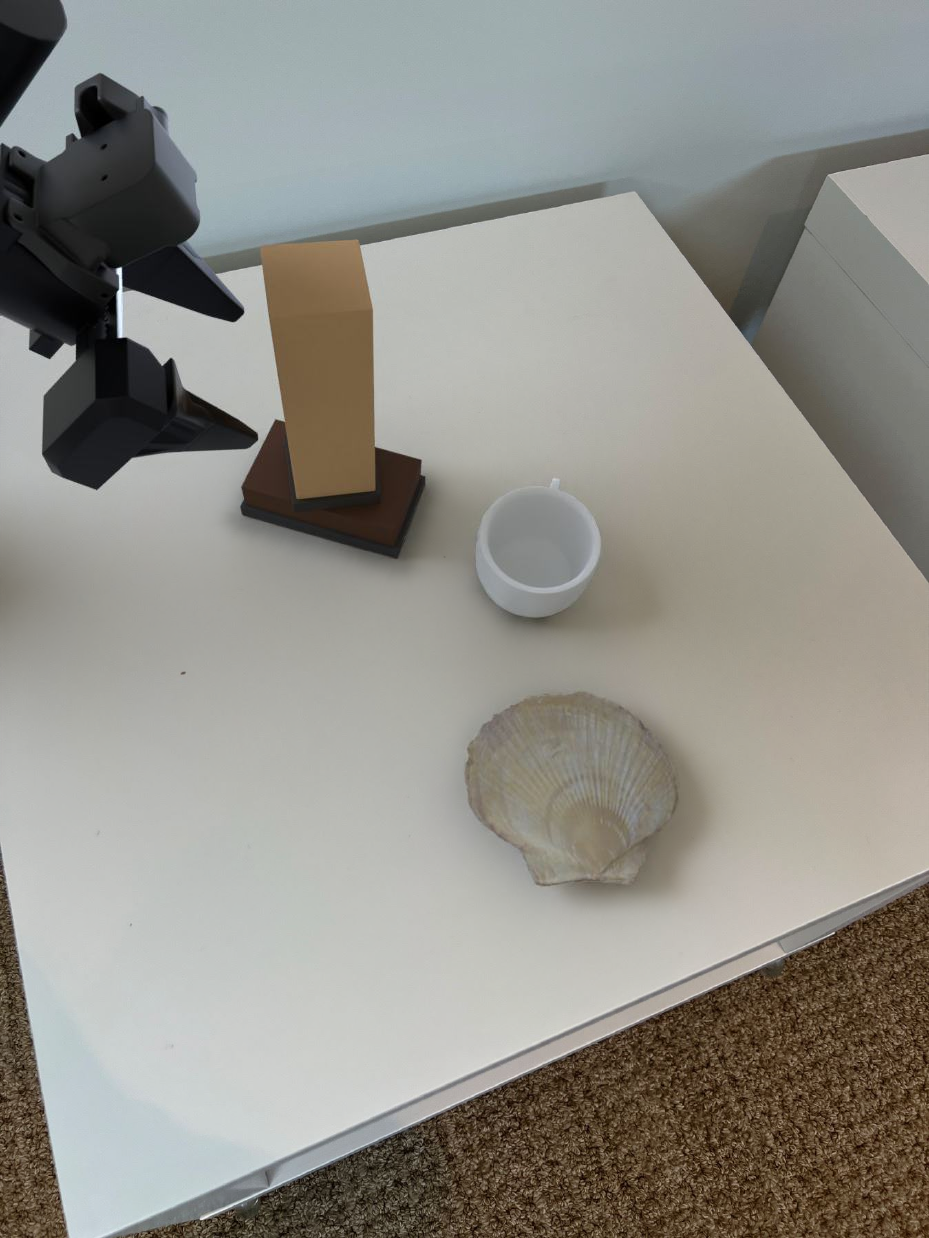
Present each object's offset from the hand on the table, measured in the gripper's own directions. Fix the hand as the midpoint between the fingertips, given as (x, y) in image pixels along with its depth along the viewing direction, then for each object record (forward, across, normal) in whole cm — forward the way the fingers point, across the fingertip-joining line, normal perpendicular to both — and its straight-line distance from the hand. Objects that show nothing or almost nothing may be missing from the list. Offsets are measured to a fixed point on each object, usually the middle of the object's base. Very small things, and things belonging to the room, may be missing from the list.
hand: (246, 376), depth 48 cm
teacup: (+21, -7, -3) cm, 22 cm away
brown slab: (+12, 0, +6) cm, 13 cm away
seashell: (+20, -23, -2) cm, 30 cm away
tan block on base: (+10, 0, +4) cm, 10 cm away
